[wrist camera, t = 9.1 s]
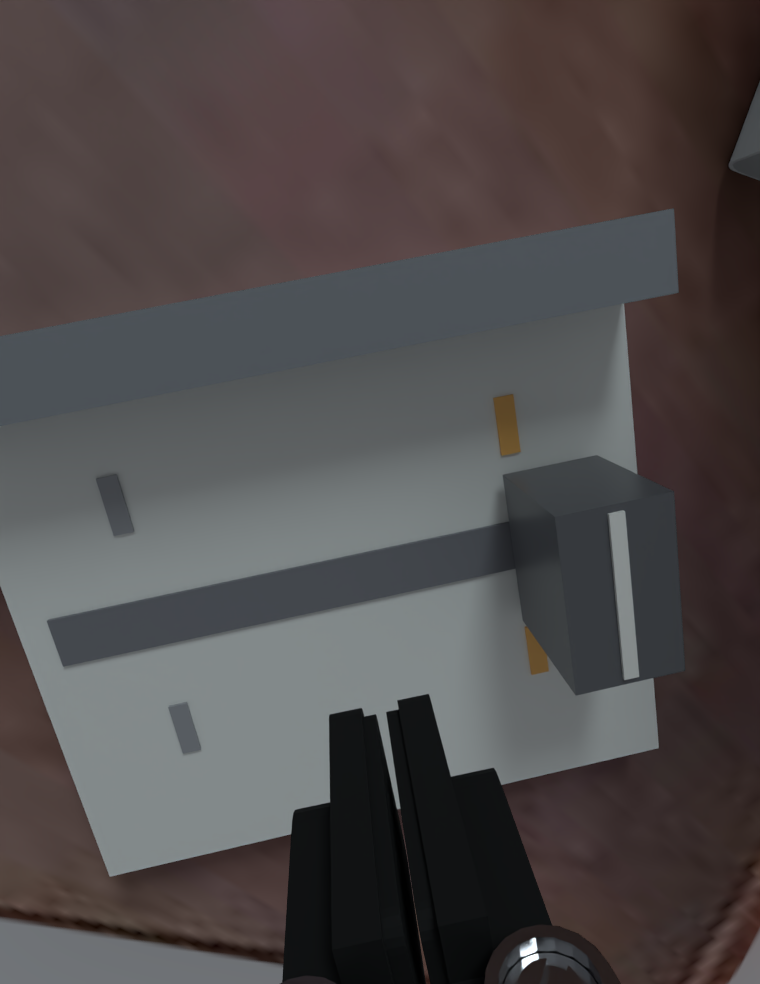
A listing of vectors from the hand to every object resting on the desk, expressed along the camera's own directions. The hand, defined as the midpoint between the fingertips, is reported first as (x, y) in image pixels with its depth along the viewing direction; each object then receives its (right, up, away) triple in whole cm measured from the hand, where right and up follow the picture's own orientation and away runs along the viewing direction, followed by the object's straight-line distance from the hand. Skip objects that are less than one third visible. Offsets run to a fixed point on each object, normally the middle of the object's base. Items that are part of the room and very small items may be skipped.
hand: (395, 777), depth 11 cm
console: (-2, +2, +12) cm, 12 cm away
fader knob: (+5, +3, +10) cm, 12 cm away
